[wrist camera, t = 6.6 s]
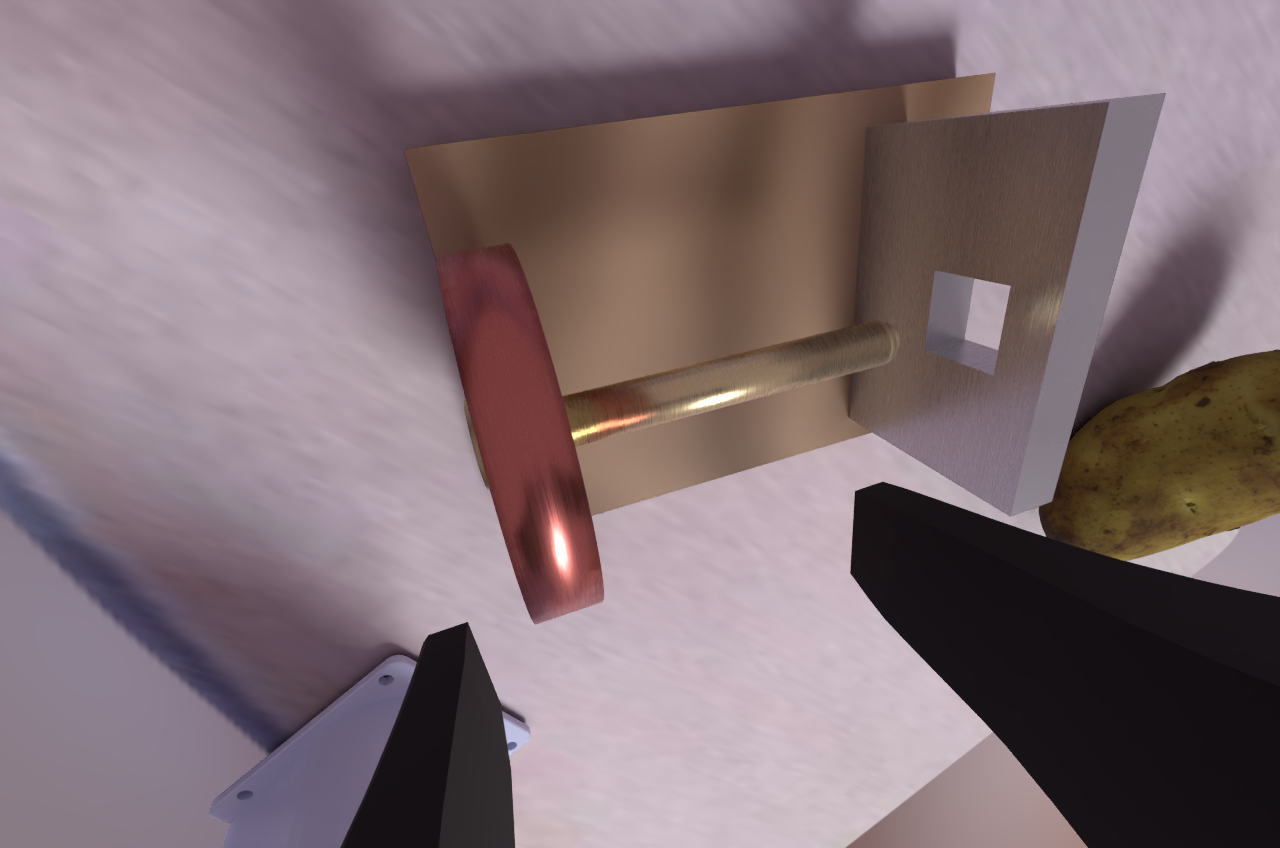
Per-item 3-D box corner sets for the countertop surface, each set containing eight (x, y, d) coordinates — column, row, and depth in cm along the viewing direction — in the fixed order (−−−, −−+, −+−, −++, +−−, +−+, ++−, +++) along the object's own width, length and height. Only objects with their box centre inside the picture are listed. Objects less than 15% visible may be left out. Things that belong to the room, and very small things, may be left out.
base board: (956, 79, 18) (995, 72, 17) (916, 398, 24) (944, 410, 22) (407, 151, 14) (403, 148, 13) (512, 513, 20) (516, 538, 18)
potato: (1004, 436, 27) (1197, 527, 20) (1207, 300, 27) (1463, 343, 21) (1018, 541, 31) (1182, 646, 24) (1194, 421, 32) (1402, 490, 25)
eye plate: (906, 121, 17) (1165, 93, 11) (880, 408, 21) (1052, 501, 15) (866, 127, 16) (1109, 101, 10) (848, 417, 21) (1010, 516, 15)
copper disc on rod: (809, 174, 16) (1086, 176, 9) (804, 414, 20) (999, 545, 13) (426, 237, 13) (406, 306, 7) (503, 498, 17) (541, 717, 10)
